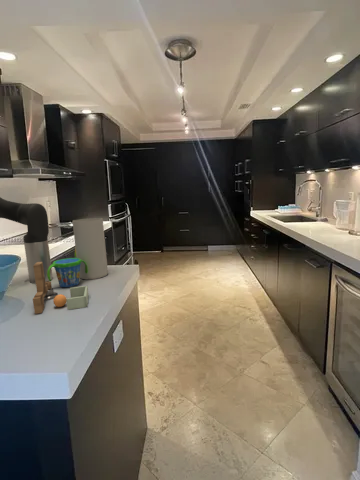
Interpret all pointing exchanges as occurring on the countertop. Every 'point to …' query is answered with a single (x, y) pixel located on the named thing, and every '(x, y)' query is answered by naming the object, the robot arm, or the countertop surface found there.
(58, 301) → the ball
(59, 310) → the countertop surface
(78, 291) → the sage green c-shaped clamp
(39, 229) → the robot arm
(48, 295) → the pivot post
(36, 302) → the lever
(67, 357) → the countertop surface
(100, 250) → the cylinder vase
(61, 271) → the snack cup
